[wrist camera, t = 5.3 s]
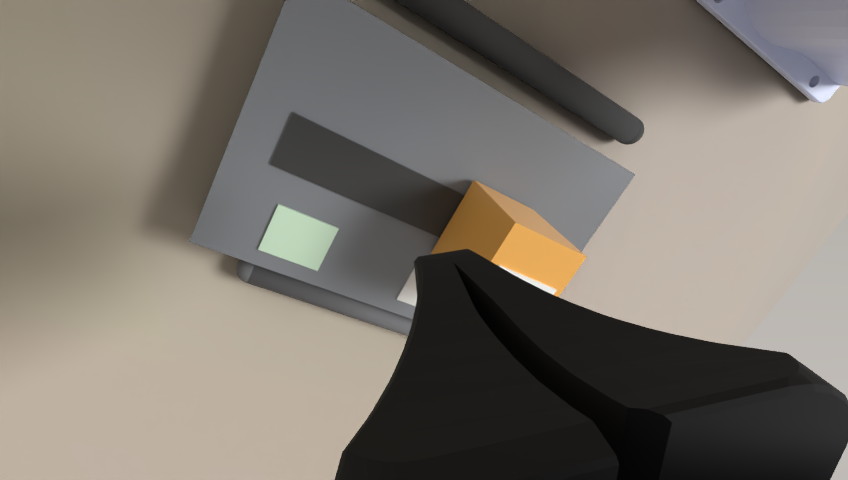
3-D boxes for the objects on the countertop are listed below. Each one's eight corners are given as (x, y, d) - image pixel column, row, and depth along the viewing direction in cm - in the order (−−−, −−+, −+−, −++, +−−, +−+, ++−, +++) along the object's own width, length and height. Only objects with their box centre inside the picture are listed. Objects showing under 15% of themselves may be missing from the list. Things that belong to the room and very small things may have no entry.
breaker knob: (533, 209, 19) (588, 258, 15) (489, 277, 20) (530, 339, 16) (474, 179, 18) (516, 223, 14) (430, 253, 19) (459, 313, 15)
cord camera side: (494, 335, 24) (501, 349, 23) (482, 352, 25) (489, 367, 24) (244, 245, 19) (240, 258, 18) (234, 268, 20) (230, 282, 19)
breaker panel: (609, 161, 21) (637, 174, 19) (496, 328, 24) (511, 354, 22) (299, -26, 16) (297, -31, 14) (201, 221, 19) (188, 243, 17)
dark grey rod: (638, 121, 21) (655, 126, 20) (622, 145, 21) (638, 152, 20) (376, -54, 16) (381, -60, 15) (361, -20, 16) (364, -22, 15)
